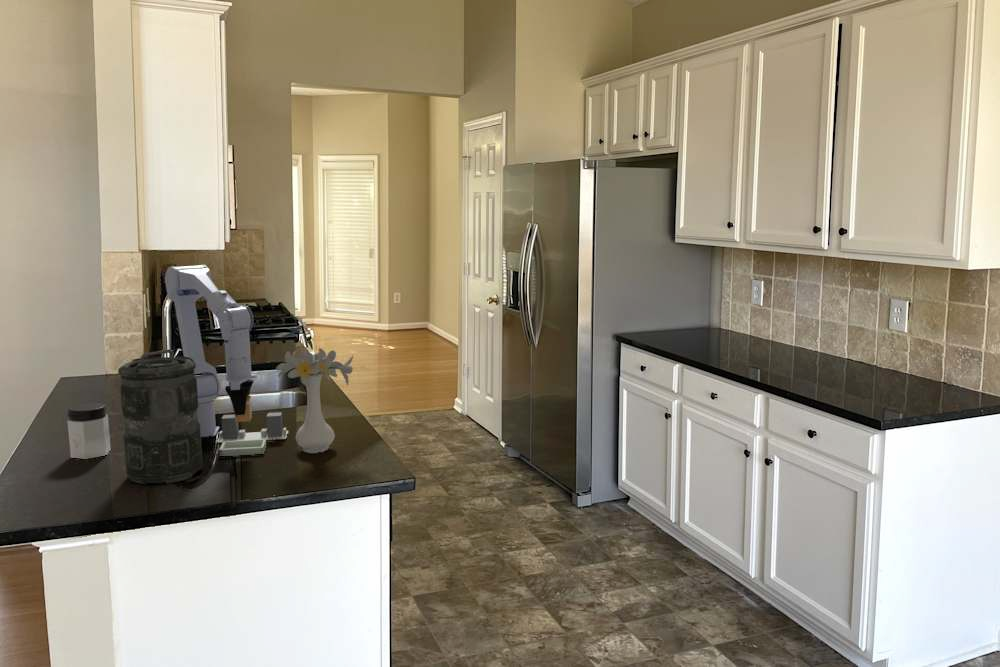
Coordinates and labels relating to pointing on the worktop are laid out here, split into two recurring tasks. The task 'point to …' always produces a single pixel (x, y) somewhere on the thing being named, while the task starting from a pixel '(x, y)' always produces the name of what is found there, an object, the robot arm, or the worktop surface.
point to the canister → (160, 418)
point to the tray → (242, 447)
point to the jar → (88, 430)
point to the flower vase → (314, 394)
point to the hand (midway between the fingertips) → (241, 412)
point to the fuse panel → (233, 434)
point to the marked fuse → (248, 412)
